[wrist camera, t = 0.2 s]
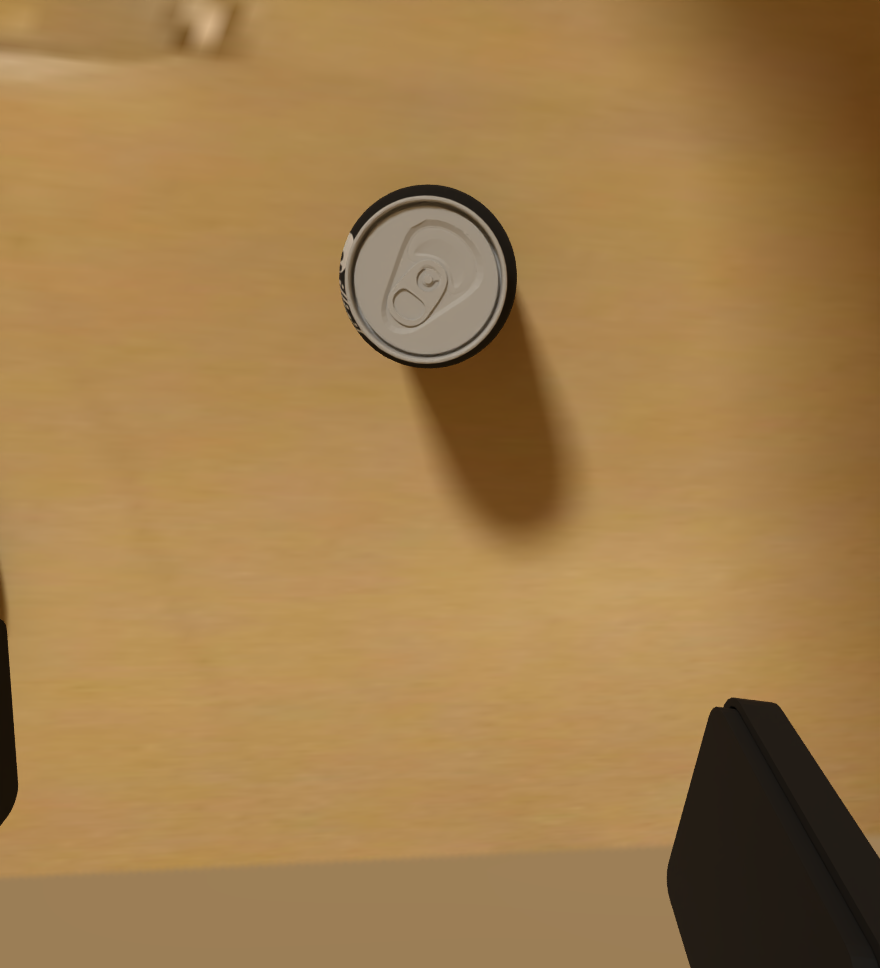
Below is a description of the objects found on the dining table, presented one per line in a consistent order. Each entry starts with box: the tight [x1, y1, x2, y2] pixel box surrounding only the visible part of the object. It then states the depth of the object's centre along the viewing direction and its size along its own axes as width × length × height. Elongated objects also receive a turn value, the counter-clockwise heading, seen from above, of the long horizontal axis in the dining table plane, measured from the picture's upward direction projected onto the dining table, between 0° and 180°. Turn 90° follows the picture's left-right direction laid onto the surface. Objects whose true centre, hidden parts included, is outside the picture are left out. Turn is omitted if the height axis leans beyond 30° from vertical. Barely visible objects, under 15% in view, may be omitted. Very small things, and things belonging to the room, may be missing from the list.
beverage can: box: [339, 185, 517, 368], centre depth 32 cm, size 7×7×12 cm
